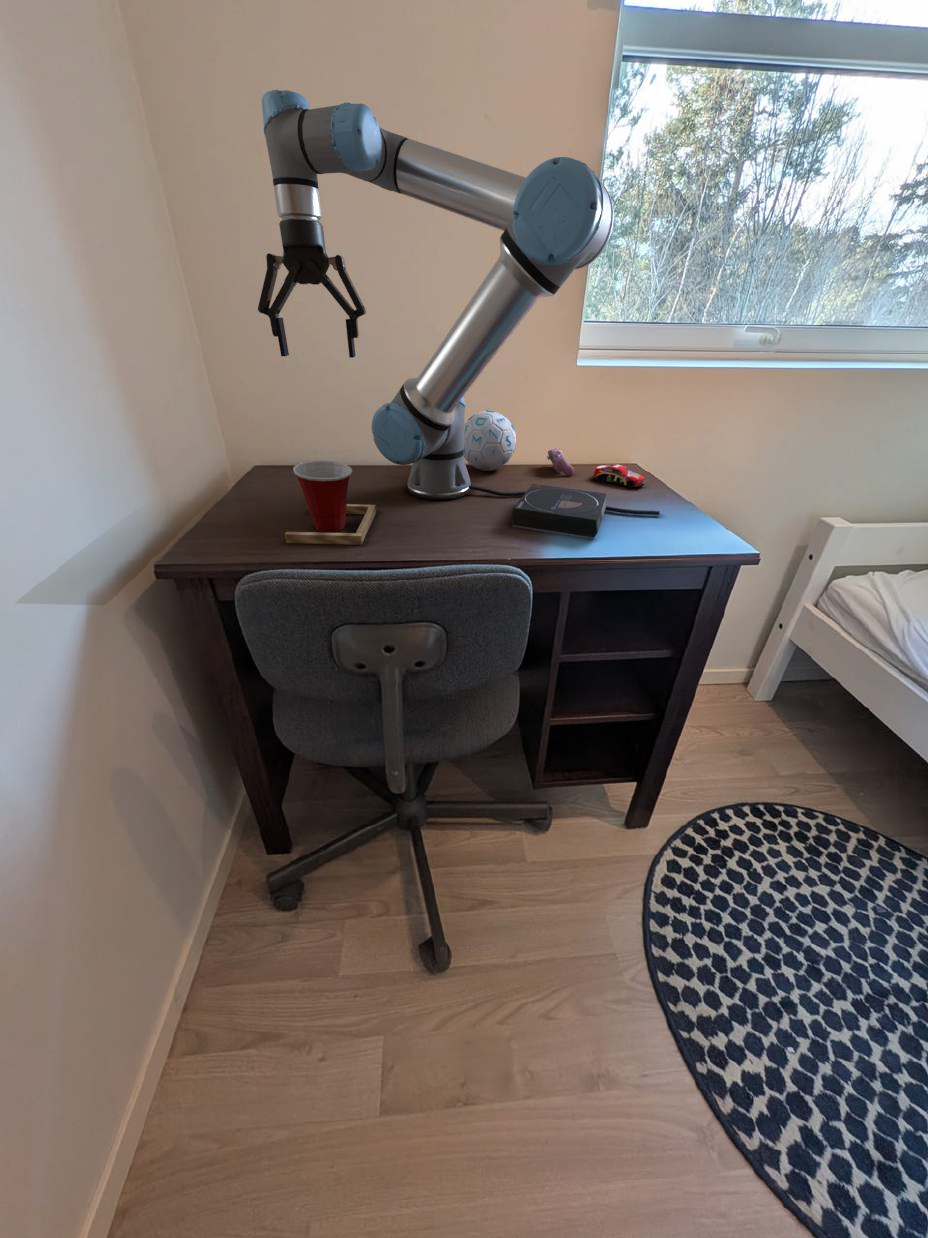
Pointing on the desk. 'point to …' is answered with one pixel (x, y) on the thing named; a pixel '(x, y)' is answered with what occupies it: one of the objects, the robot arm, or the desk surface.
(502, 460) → the puzzle ball
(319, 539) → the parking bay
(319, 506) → the plastic cup
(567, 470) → the purple animal figurine
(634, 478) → the race car
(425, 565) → the desk surface
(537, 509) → the portable cd player
